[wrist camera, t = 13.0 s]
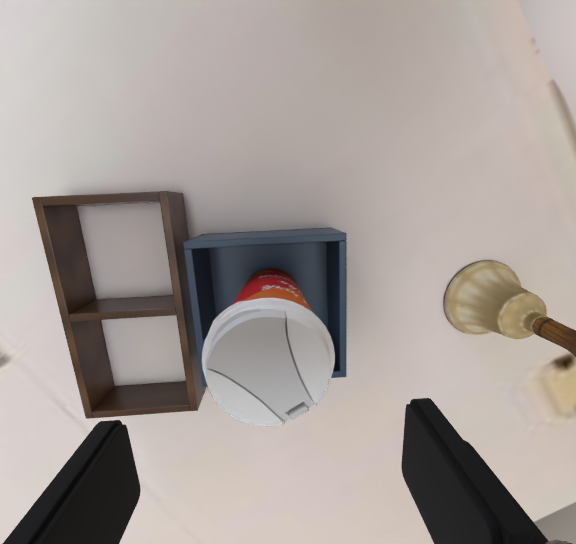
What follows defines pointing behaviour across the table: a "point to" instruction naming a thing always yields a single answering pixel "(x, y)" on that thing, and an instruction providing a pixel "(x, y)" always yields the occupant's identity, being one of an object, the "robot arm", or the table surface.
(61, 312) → the wooden divided tray
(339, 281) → the blue square tray
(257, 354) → the paper cup
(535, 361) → the table surface
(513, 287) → the hand bell
